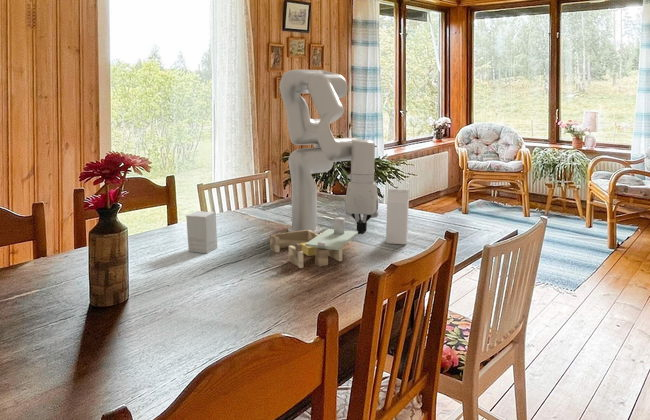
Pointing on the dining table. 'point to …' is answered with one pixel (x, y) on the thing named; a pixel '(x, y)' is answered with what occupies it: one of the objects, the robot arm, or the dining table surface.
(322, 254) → the beige notched ring
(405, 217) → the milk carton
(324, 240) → the cover
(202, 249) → the supplement box
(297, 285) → the dining table surface
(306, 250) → the yellow rectangular block
